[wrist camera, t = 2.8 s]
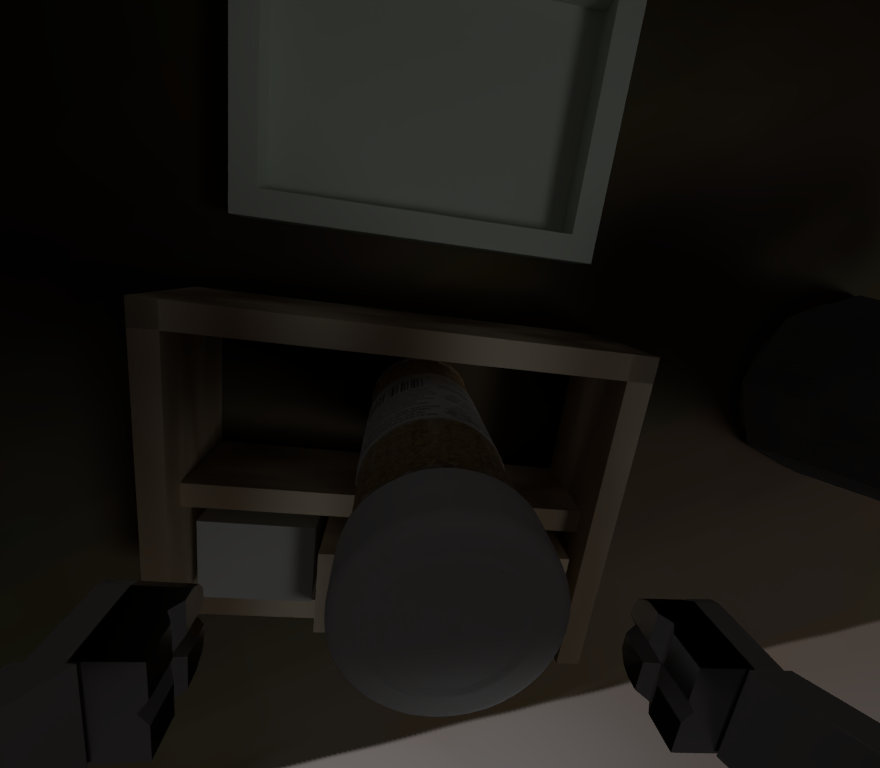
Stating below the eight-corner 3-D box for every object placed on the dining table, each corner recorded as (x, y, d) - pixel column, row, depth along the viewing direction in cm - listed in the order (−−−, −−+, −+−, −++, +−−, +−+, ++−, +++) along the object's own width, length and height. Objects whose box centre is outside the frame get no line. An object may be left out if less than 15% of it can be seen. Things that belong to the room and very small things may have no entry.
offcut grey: (331, 480, 21) (315, 528, 17) (326, 543, 22) (311, 601, 18) (234, 473, 21) (196, 521, 17) (234, 537, 22) (198, 596, 18)
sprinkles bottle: (390, 455, 21) (371, 759, 8) (358, 368, 20) (275, 569, 7) (479, 426, 21) (600, 687, 8) (453, 338, 20) (547, 483, 7)
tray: (625, -3, 17) (655, -37, 15) (572, 263, 19) (591, 263, 17) (250, -84, 15) (227, -134, 13) (247, 218, 18) (227, 213, 16)
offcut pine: (419, 487, 22) (424, 559, 16) (411, 548, 23) (414, 635, 17) (339, 481, 21) (318, 554, 16) (334, 544, 22) (313, 632, 17)
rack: (599, 335, 20) (660, 357, 15) (542, 583, 24) (578, 664, 19) (197, 286, 18) (123, 294, 13) (202, 566, 22) (146, 651, 17)
